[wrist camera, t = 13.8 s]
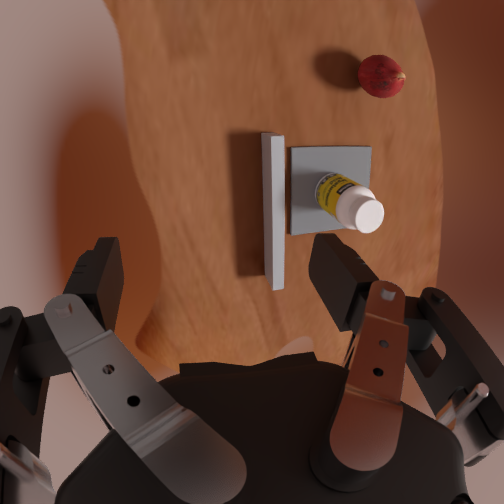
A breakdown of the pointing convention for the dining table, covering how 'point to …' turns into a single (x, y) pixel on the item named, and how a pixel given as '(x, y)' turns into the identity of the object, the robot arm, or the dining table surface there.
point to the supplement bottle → (349, 203)
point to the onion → (380, 76)
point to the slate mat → (312, 171)
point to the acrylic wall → (273, 207)
